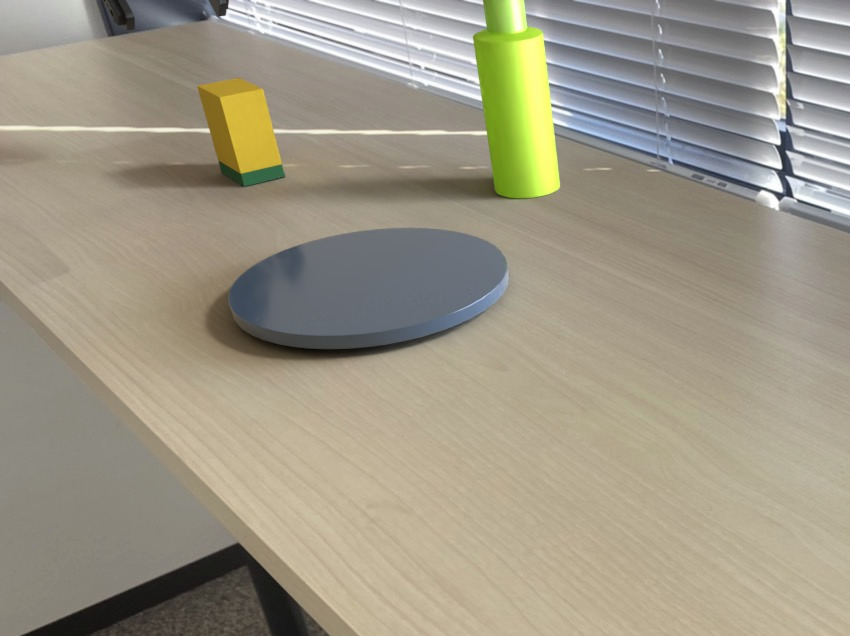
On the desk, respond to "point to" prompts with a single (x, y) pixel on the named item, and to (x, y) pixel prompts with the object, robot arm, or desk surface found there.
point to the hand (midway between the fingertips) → (178, 17)
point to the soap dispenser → (516, 102)
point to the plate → (369, 288)
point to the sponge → (241, 131)
